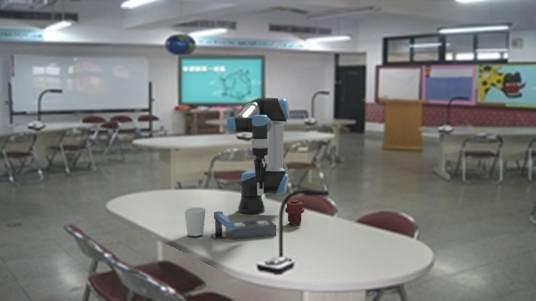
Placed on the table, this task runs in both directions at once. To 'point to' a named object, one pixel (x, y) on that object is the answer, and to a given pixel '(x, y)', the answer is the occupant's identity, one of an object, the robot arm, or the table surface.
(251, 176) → the robot arm
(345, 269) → the table surface
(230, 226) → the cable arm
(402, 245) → the table surface
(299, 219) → the mechanical component
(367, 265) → the table surface
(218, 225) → the pivot post
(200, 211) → the cup
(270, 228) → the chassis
